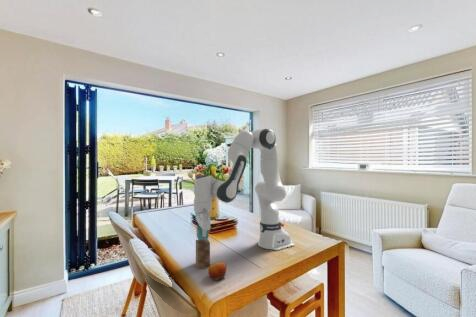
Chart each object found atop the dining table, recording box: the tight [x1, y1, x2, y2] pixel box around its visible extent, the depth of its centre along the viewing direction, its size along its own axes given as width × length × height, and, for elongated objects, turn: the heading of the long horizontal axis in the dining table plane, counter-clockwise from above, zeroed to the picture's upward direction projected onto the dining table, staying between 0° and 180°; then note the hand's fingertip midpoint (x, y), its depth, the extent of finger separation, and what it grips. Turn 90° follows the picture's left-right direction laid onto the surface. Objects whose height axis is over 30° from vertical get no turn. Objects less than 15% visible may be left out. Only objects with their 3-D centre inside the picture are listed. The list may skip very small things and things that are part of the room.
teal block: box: [196, 225, 209, 240], centre depth 115 cm, size 5×5×5 cm
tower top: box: [195, 238, 211, 256], centre depth 115 cm, size 6×6×6 cm
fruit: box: [208, 261, 227, 282], centre depth 103 cm, size 8×8×8 cm
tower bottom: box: [195, 252, 211, 270], centre depth 115 cm, size 6×6×6 cm
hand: (202, 234), depth 115 cm, fingers closed on teal block, 5 cm apart
